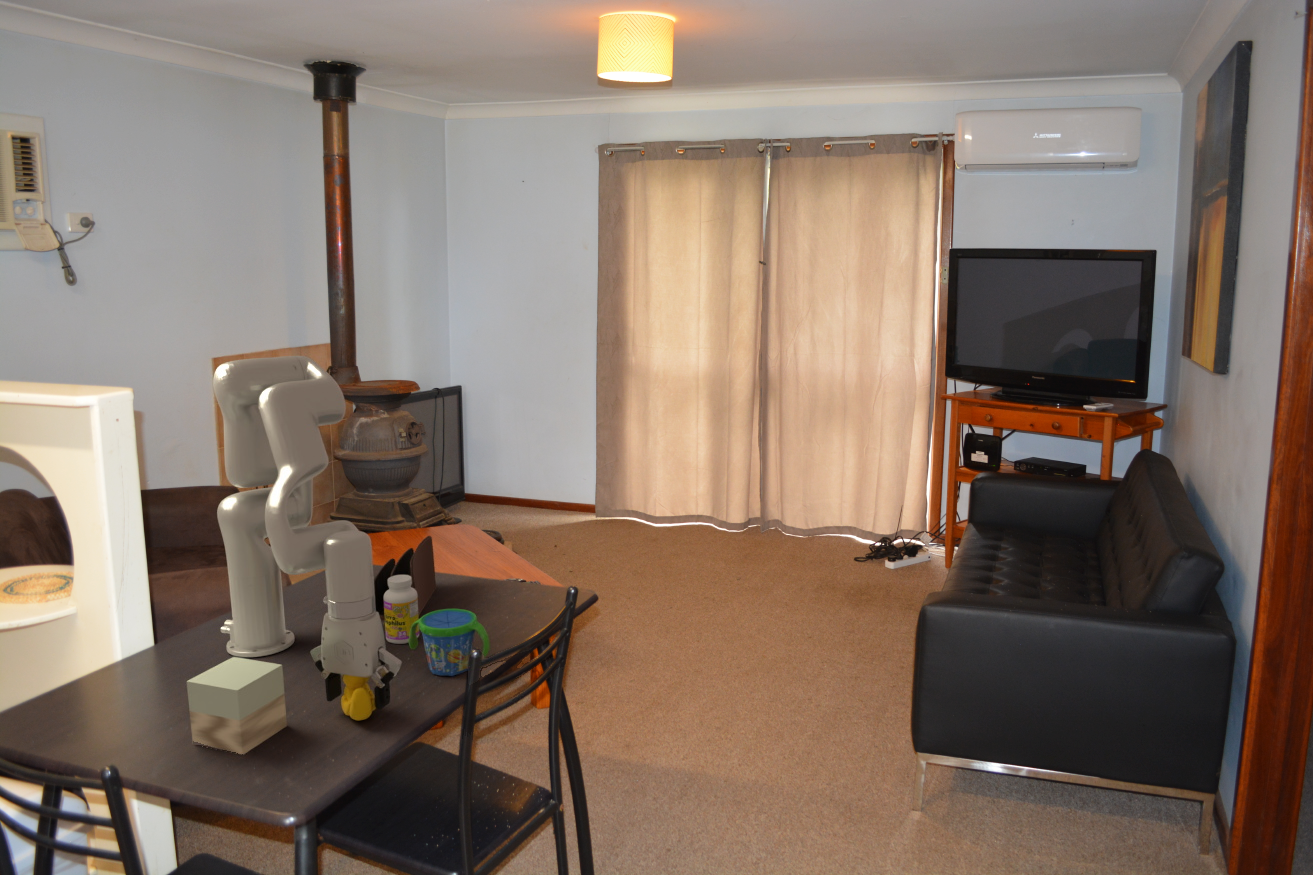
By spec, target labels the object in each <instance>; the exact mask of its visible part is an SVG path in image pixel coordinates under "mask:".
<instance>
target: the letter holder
mask: <svg viewBox="0 0 1313 875" xmlns="http://www.w3.org/2000/svg"><path fill="white" fill-rule="evenodd" d="M433 544H434V543H433V537H432V536H431V535H427V536H426V537H424V538H423V539H422V541H420V543H418V546H416V548H415V550H414V548H413V547H410V548H408V549H406V551H404V553H403V554H402V555H401V556H400V558H399V559H398V560H397V561H396V559H395V558H390V559H389V560H388V561H386V562H385V563H384V564H383V566H382V567H381V568H380V569H379V571H378V572H377V574H376V575H375V577H374V591H375V606H376V612H378V613H379V616H380V619H381V621H385V615H384V594H385V592H386V591H387V590H389V586H388V578H390V577H392V576H395V575H409V576H411V578H412V584H411V587H412V588H414V589H415V590H416V591H417V596H418V617H420V615H421V613H422V611H423V610H424V608H425V607H426V605H427V604H428V602H429V601H430V599H431V597H432V595H433V594H434V592H435V591H436V589H437V582H436V570H435V568H436V567H435V557H434V556H435V555H434V546H433Z"/></svg>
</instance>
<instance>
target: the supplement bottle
mask: <svg viewBox="0 0 1313 875" xmlns="http://www.w3.org/2000/svg"><path fill="white" fill-rule="evenodd" d="M411 584H412V578H411V576H409V575H395V576H392V577H390V578H388V586H389V590H387V591H386V592H385V594H384V615H385V620H384V630H385V631H384V632H385V639H386V640H385V641H387V642H388V643H391V644H395V645H397V644H398V645H401V644H402V645H405V644H409V633H410V629H411V626H412V625H413V623H414V622H416V621H417V620H418V619H420V618H419V617H420V616H419V617H418V596H417V591H416V590H415V589H414V588H412V587H411ZM416 636H417V639H419V637H420V627H419V624H417V627H416Z"/></svg>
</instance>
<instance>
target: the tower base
mask: <svg viewBox="0 0 1313 875" xmlns="http://www.w3.org/2000/svg"><path fill="white" fill-rule="evenodd" d="M285 698H286V697H285V693H284V694H283V695H281V696H279V697H278V698H276V699H274V700H273V701H271V702H269V703H268V704H266V705H265V706H263V707H261V708H260V709H258V710H256V711H255V712H253V713H251V714H250V715H248V716H246V717H245V718H243V719H241V720H235V719H230V718H224V717H219V716H214V715H209V714H204V713H199V712H193V711H190V710H189V718H190V719H189V720H190V730H191V738H192V742H193V741H194V742H198V743H201V744H204V745H208V746H211V747H215V748H220V749H223V750H227V751H231V752H230V753H232V752H236V753H235V754H237V753H238V754H239V755H242V754H243V755H245V754H246V753H248V752H249V751H251V750H253V749H254V748H255V747H257V746H259V745H260V744H262V743H263V742H265V741H266V740H268V739H269V738H271V737H272V736H274V735H275V734H277V733H278V732H280V731H282V730H284V728H286V727H287V726H288V723H287V722H288V721H287V712H286V711H287V710H286V709H287V708H286V699H285ZM227 751H226V752H227ZM238 754H237V755H238Z"/></svg>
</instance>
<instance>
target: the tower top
mask: <svg viewBox="0 0 1313 875" xmlns="http://www.w3.org/2000/svg"><path fill="white" fill-rule="evenodd" d="M283 672H284V671H283V664H279V663H274V662H268V661H267V662H266V661H262V660H261V661H260V660H255V659H249V658H245V657H238V656H232V657H231V658H228V659H227V660H225V661H223V662H221V663H219V664H217V665H216V666H213V667H211V668H209V669H207V670H206V671H204V672H202V673H200V674H198V675H196V676H193V677H192V678H190V679H189V680H187V681H186V689H187V699H188V708H189V711H193V712H199V713H204V714H209V715H214V716H219V717H224V718H230V719H235V720H241V719H243V718H245V717H246V716H248V715H250V714H251V713H253V712H255V711H256V710H258V709H260V708H261V707H263V706H265V705H266V704H268V703H269V702H271V701H273V700H274V699H276V698H278V697H279V696H281V695H283V694H284V695H285V682H284V681H285V680H284V673H283Z"/></svg>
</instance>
